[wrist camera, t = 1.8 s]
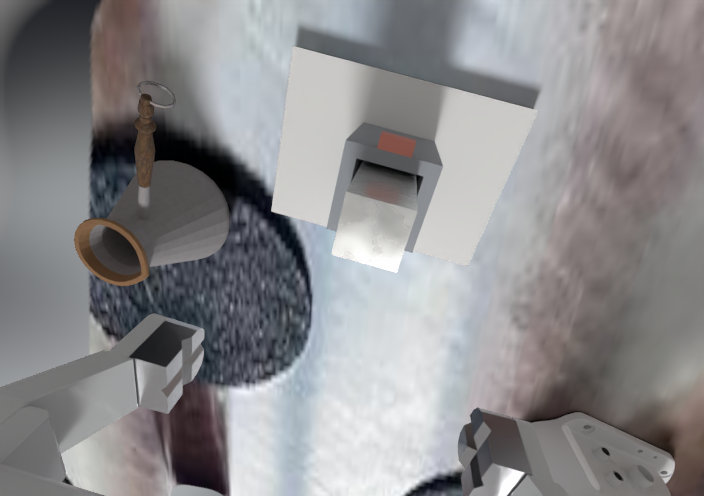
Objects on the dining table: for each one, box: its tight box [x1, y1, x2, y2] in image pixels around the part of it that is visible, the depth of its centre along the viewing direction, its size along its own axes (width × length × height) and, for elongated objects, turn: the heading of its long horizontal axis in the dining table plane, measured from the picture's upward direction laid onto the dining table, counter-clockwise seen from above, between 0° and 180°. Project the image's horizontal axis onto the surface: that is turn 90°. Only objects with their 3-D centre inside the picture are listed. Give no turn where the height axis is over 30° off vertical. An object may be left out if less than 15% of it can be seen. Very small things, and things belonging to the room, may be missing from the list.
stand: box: [271, 46, 538, 266], centre depth 30 cm, size 22×16×12 cm
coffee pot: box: [74, 81, 230, 286], centre depth 32 cm, size 21×12×15 cm, turn 146°
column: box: [331, 160, 418, 273], centre depth 27 cm, size 4×4×16 cm
